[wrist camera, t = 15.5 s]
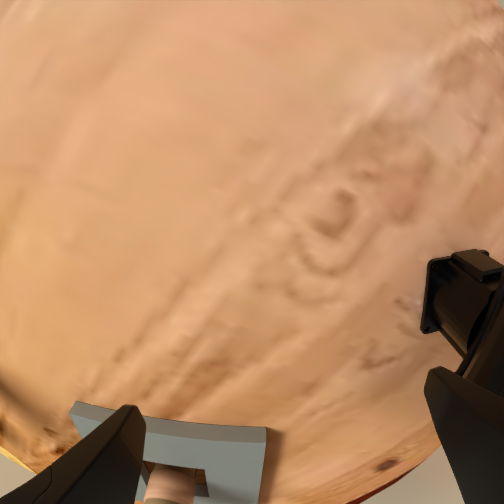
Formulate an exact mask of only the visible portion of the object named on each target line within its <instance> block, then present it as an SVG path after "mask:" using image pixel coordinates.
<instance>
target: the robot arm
mask: <svg viewBox="0 0 504 504" xmlns="http://www.w3.org/2000/svg"><path fill="white" fill-rule="evenodd" d="M434 264H435V267H434V268H432V267H433V265H434ZM426 327H427V328H426ZM425 328H426V329H425ZM420 330H421V332H422V333H423V334H428V333H432V332H436V331H440V332H441V333H442V334H443V336H444V337H445V338H446V339H447V340H448V341H449V343H450V344H451V345H452V346H453V347H454V348H455V350H456V351H457V352H458V353H459V354H460V356H461V357H462V358H463V361H462V363H461V364H460V366H459V368H458V370H457V371H456V372H452V371H450V370H448V369H446V368H444V367H442V366H439V367H436V368H433V369H430V370H429V372H428V375H427V379H426V383H425V386H424V395H425V398H426V401H427V404H428V407H429V410H430V413H431V416H432V419H433V423H434V426H435V429H436V432H437V434H438V437H439V439H440V442H441V444H442V446H443V449H444V451H445V453H446V456H447V458H448V461H449V463H450V466H451V468H452V471H453V473H454V476H455V478H456V481H457V483H458V486H459V489H460V491H461V494H462V497H463V500H464V502H465V504H504V265H502V264H500V263H499V262H497V261H495V260H494V259H492V258H490V257H489V252H487V251H486V250H480V251H478V250H476V249H472V250H466V251H461V252H455V253H453V254H452V255H451V256H447V257H441V258H435V259H432V260H430V261H429V263H428V265H427V276H426V287H425V296H424V304H423V312H422V319H421V326H420ZM145 436H146V422H145V420H144V418H143V416H142V414H141V412H140V411H139V409H138V407H137V406H136V405H123V406H121V407H120V408H119V409H118V410H117V411H116V412H114V413H113V414H112V415H111V416H110V417H108V418H107V419H106V420H105V421H104V422H102V423H101V424H100V425H99V426H98V427H96V428H95V429H94V430H93V431H92V432H90V433H89V434H88V435H87V436H85V437H84V438H83V439H82V440H81V441H79V442H78V443H77V444H76V445H74V446H73V447H72V448H71V449H69V450H68V451H67V452H66V453H65V454H63V455H62V456H61V457H60V458H58V459H57V460H56V461H55V462H53V463H52V464H51V465H49V466H48V467H47V468H46V469H44V470H43V471H42V472H40V473H39V474H38V475H36V476H35V477H34V478H32V479H31V480H29V481H28V482H26V483H24V484H23V485H21V486H20V487H18V488H16V489H15V490H13V491H11V492H10V493H8V494H6V495H4V496H3V497H1V498H0V504H134V502H135V497H136V493H137V488H138V483H139V479H140V474H141V470H142V463H143V454H144V445H145Z"/></svg>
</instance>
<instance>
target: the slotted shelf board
mask: <svg viewBox="0 0 504 504" xmlns="http://www.w3.org/2000/svg"><path fill="white" fill-rule="evenodd" d="M114 412H116V410H111V409H107V408H102V407H98V406H94V405H90V404H86V403H82V402H79V401H76V402H75V403H74V405H73V407H72V408H71V410H70V412H69V415H70V417H71V419H72V421H73V423H74V424H75V426H76V428H77V430H78V432H79V434H80V436H81V438H82V439H83V438H84V437H85V436H87V435H88V434H89V433H90V432H92V431H93V430H94V429H95V428H96V427H98V426H99V425H100V424H101V423H102V422H104V421H105V420H106V419H107V418H108V417H110V416H111V415H112V414H113V413H114ZM143 418H144V420H145V422H146V436H145V445H144V454H143V460H144V461H150V462H155V463H161V464H167V465H173V466H180V467H187V468H196V469H205V475H206V481H207V485H203V484H196V489H195V495H194V502H193V504H258V497H259V490H260V484H261V477H262V470H263V463H264V456H265V448H266V427H242V426H224V425H210V424H199V423H190V422H181V421H173V420H166V419H159V418H153V417H147V416H143ZM144 461H143V463H142V470H141V474H140V479H139V483H138V488H137V493H136V497H135V500H138V501H142V502H144V496H145V493H146V489H147V485H148V481H149V478H150V474H149V472H148V470H147V468H146V465H145V463H144Z"/></svg>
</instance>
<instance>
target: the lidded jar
mask: <svg viewBox="0 0 504 504" xmlns="http://www.w3.org/2000/svg"><path fill="white" fill-rule="evenodd" d="M195 477H196V468H187V467H180V466H173V465H167V464H161V463H155V466H154V470H153V471H152V472H151V474H150V478H149V481H148V485H147V489H146V493H145V496H144V503H145V504H193V502H194V495H195V489H196V482H195Z"/></svg>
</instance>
